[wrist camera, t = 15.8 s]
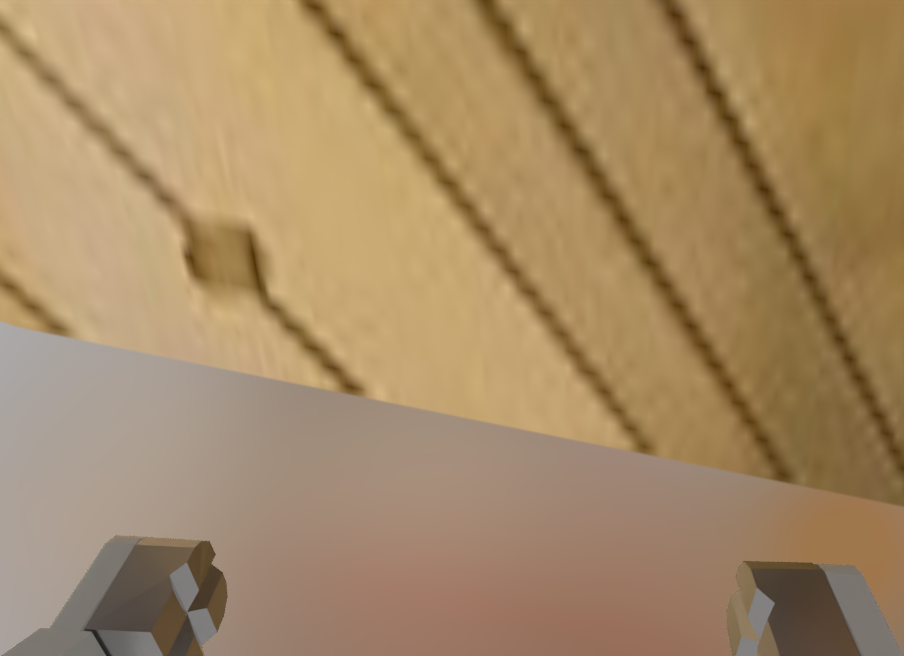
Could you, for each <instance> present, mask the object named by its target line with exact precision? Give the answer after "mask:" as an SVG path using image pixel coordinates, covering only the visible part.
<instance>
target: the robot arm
mask: <svg viewBox="0 0 904 656" xmlns="http://www.w3.org/2000/svg"><path fill="white" fill-rule="evenodd" d="M215 555H216V554H215V552H214V550H213V548H212V546H211V544H210V541H200V540H184V539H169V538H153V537H137V536H115V537H114V538H112V539H111V540H109V541H108V542H107V543H106V544H105V545H104V546H103V548H102V549H101V551H100V552H99V554H98V556H97V557H96V558H95V560H94V561H93V563H92V565H91V566H90V568H89V569H88V570H87V572H86V573H85V575H84V577H83V578H82V580H81V581H80V583H79V584H78V586H77V587H76V589H75V590H74V592H73V593H72V595H71V596H70V598H69V599H68V601H67V602H66V604H65V605H64V607H63V609H62V610H61V611H60V613H59V614H58V616H57V617H56V619H55V621H54V622H53V623H52V625H51V627H50V628H40V629H38V630H37V631H36V632H34V633H33V634H32V635H30V636H29V637H27V638H26V639H24V640H23V641H22V642H20V643H19V644H17V645H16V646H15V647H13V648H12V649H10V650H9V651H7V652H6V653H5V654H3V655H2V656H205V655H204V651H203V647H202V645H203V644H204V643H206V641H208V640H209V639H210V638H211V637H212V636H214V635H215V634H216V633H217V632H218V629H219V626H220V624H221V622H222V619H223V617H224V613H225V607H226V601H227V584H226V580H225V577H224V575H223V572H221V571H220V570H219V569H217V568H216V567H215V566H213V565H212V564H211V563H212V561H213V559H214V557H215ZM736 580H737V583H738V587H739V590H738V591H737V592H735V593H734V594H732V595H731V596H730V599H729V604H728V609H727V631H728V637H729V643H730V648H731V651H732V655H733V656H904V655H903V653H902V651H901V649H900V647H899V645H898V643H897V641H896V639H895V638H894V636H893V634H892V631H891V630H890V628H889V626H888V624H887V622H886V620H885V618H884V616H883V614H882V612H881V610H880V608H879V606H878V604H877V602H876V600H875V598H874V596H873V594H872V592H871V590H870V588H869V586H868V584H867V582H866V580H865V578H864V576H863V574H862V572H860V570H858V569H857V568H856V567H855V566H852V565H833V564H832V565H831V564H813V563H799V562H758V561H756V562H755V561H743V562H742V563H741V564H740V565H739V567H738V570H737V573H736Z"/></svg>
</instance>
